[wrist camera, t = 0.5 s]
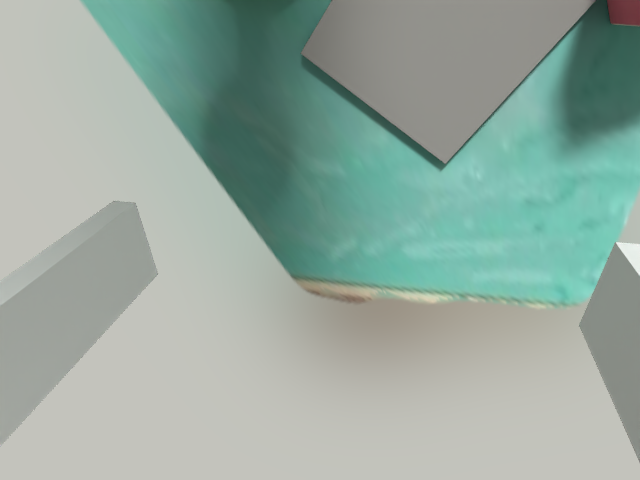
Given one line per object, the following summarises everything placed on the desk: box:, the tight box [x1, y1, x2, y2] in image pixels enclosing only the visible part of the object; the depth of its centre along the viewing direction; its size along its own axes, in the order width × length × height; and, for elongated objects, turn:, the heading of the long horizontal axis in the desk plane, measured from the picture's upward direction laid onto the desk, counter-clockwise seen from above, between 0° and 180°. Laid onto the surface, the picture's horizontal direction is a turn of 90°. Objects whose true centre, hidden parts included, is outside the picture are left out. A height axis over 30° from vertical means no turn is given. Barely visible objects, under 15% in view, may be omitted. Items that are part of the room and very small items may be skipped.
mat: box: [301, 0, 596, 164], centre depth 26 cm, size 13×13×1 cm
